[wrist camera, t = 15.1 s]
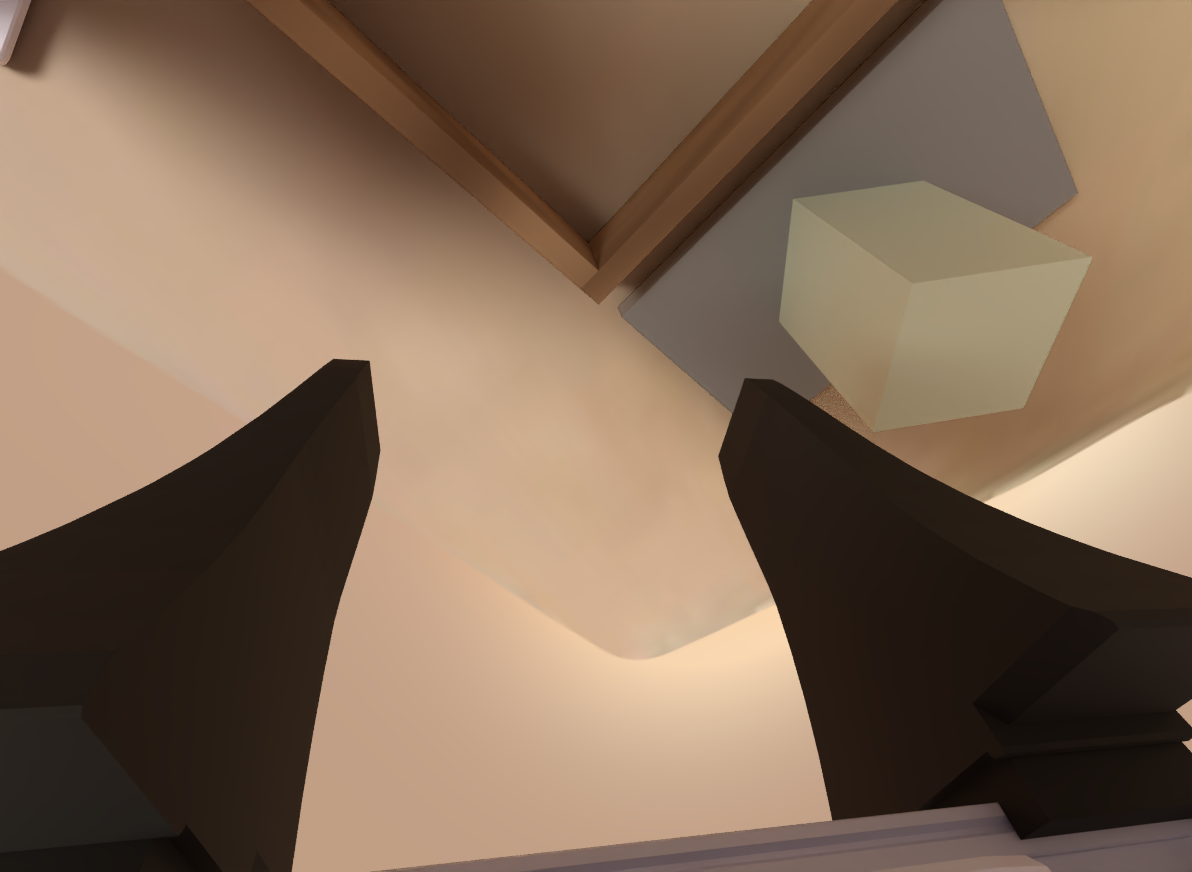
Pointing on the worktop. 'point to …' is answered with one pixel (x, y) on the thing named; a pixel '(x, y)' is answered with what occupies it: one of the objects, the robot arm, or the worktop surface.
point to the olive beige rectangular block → (923, 301)
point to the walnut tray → (667, 196)
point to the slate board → (857, 188)
